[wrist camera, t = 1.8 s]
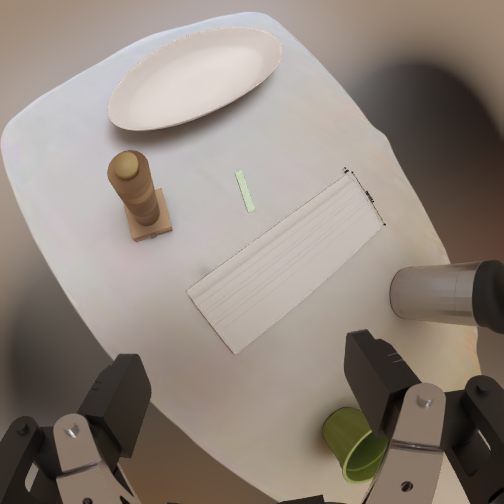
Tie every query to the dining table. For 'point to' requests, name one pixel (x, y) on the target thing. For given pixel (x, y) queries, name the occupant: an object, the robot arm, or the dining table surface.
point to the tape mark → (245, 191)
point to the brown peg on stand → (139, 195)
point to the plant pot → (354, 444)
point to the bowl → (193, 77)
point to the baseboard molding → (285, 264)
